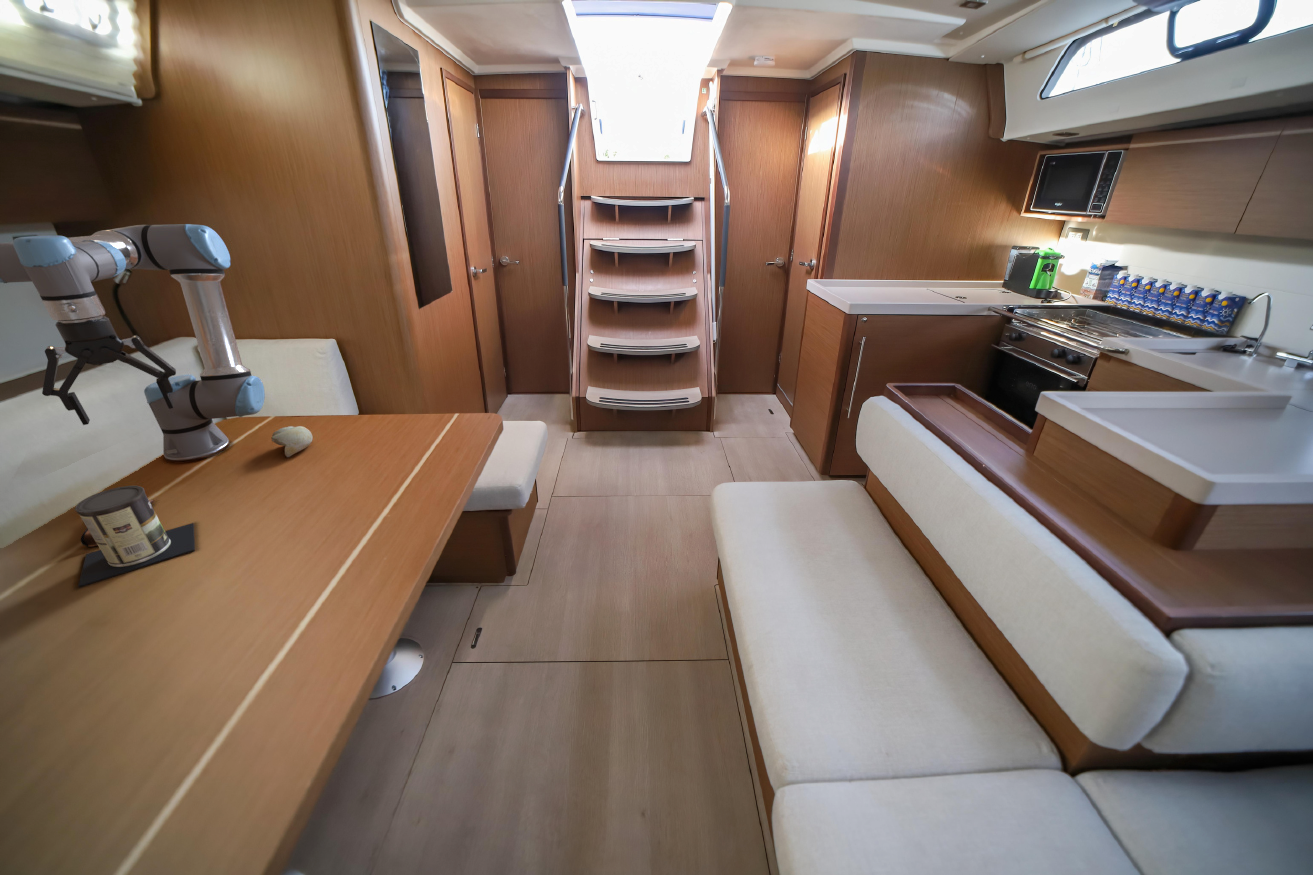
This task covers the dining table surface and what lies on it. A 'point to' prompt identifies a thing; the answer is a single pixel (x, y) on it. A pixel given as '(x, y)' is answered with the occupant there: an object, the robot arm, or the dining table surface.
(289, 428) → the seashell
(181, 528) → the place mat
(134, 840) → the dining table surface
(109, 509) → the coffee can
